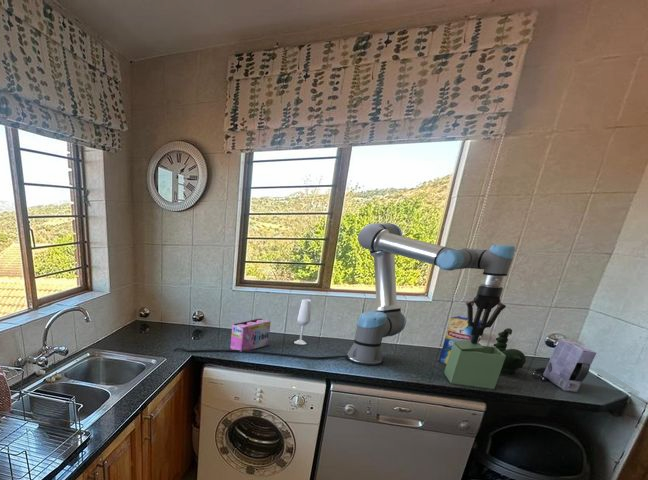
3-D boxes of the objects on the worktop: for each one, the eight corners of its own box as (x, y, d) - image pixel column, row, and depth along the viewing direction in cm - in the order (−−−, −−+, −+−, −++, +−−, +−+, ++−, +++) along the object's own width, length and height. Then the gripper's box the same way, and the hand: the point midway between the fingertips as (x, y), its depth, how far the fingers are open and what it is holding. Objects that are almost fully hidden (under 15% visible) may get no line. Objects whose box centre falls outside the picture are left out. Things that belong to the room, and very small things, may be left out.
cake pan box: (580, 393, 161) (598, 352, 155) (564, 391, 163) (582, 350, 157) (555, 377, 178) (571, 339, 171) (541, 375, 180) (556, 337, 173)
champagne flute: (291, 342, 225) (297, 299, 216) (297, 340, 229) (303, 298, 220) (302, 345, 220) (309, 301, 212) (308, 342, 225) (315, 300, 216)
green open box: (450, 383, 171) (460, 350, 165) (443, 373, 182) (453, 342, 176) (494, 389, 165) (506, 355, 160) (484, 378, 176) (495, 346, 171)
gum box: (258, 341, 227) (261, 317, 222) (270, 344, 221) (273, 320, 216) (229, 349, 213) (231, 324, 208) (241, 352, 207) (243, 327, 202)
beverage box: (463, 368, 188) (477, 322, 180) (438, 361, 197) (450, 317, 189) (470, 366, 191) (485, 320, 183) (446, 359, 200) (458, 315, 192)
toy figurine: (481, 363, 200) (500, 375, 178) (492, 325, 194) (513, 333, 172) (505, 366, 196) (527, 379, 174) (517, 327, 191) (541, 336, 169)
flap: (461, 349, 165) (461, 348, 165) (453, 341, 176) (453, 340, 176) (483, 348, 162) (483, 347, 162) (474, 340, 173) (474, 339, 173)
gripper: (474, 286, 159) (457, 343, 167) (515, 288, 154) (495, 347, 162) (468, 283, 165) (452, 338, 174) (508, 285, 160) (489, 342, 169)
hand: (473, 342), depth 168 cm, fingers closed
